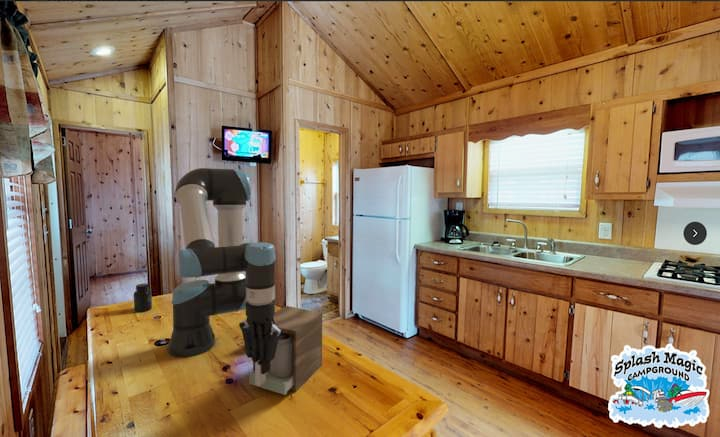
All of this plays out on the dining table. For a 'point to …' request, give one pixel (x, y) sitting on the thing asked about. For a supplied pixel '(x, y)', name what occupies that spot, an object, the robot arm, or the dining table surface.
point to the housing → (302, 340)
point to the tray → (274, 382)
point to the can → (283, 356)
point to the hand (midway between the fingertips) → (260, 382)
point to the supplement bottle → (142, 298)
